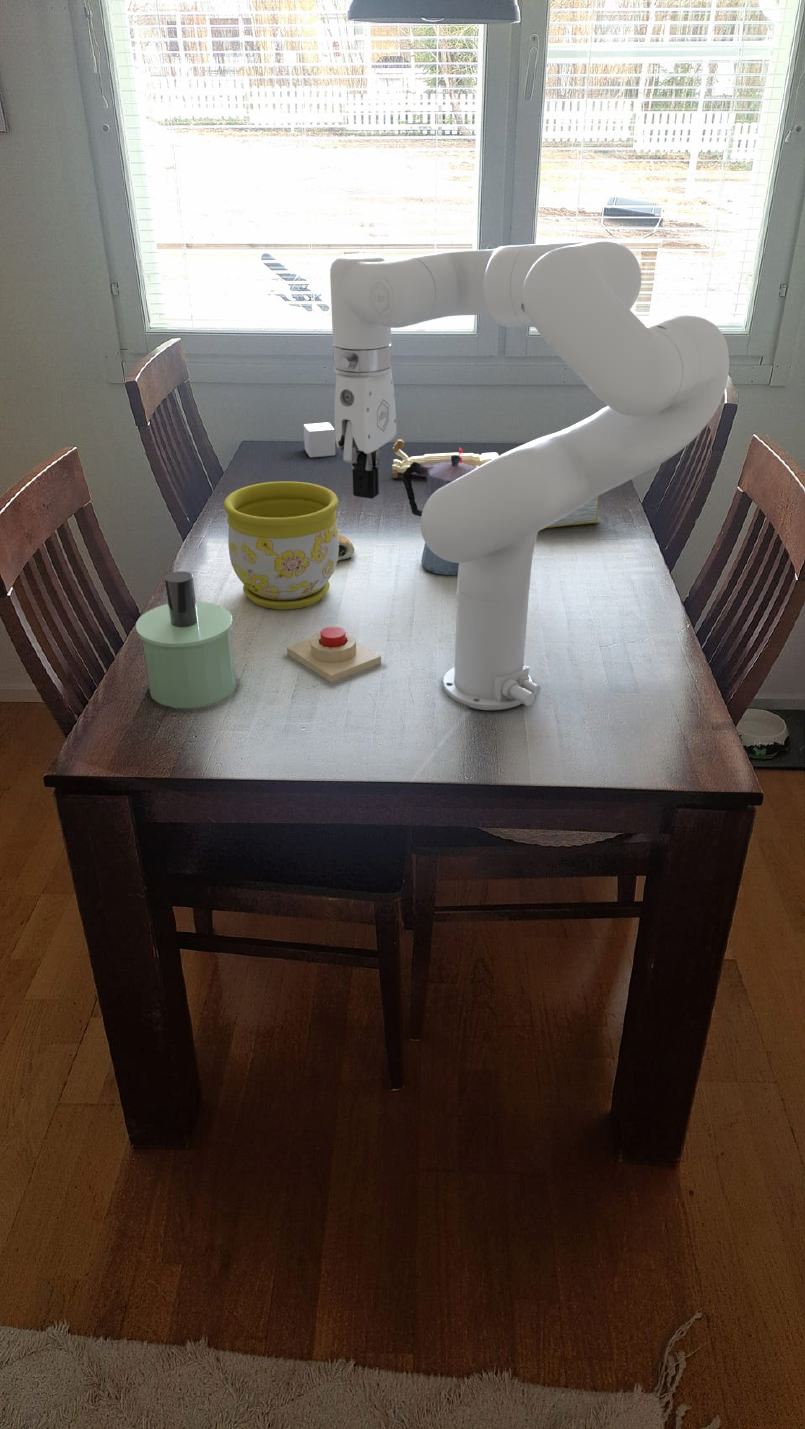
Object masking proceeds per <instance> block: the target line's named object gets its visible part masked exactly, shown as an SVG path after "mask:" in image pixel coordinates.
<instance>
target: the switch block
mask: <svg viewBox="0 0 805 1429" xmlns="http://www.w3.org/2000/svg"><path fill="white" fill-rule="evenodd" d="M345 637H346V643H345V645H343V646H340V647H333V648H330V647H324V646H322V645H321V636H320V632H319V633H316V634H314V636H313V637H311V638H309V639H307V640H304V641H301V642H298V643H295V644H292V645H289V646H287V647H286V653H287V655H288V656H289V657H291V658H292V659H294V660H295V661H297V662H299V663H300V664H301V665H303V666H304V667H306V668H308V669H309V670H311V671H312V672H314V673H316V674H317V675H319V676H320V677H322V678H324V679H325V680H326V681H328V682H329V683H334V682H336V681H339V680H342V679H345V678H347V677H350V676H353V675H355V674H357V673H360V672H362V671H366V670H368V669H371V668H372V667H376V666H379V665H380V664H382V656H381V655H379V654H378V653H377V652H374V651H373V650H372V649H369V648H368V647H366V646H364V645H362V644H361V643H359V642H357V640H356V637H355V636H354V635H353V634H351V633H350V632H347V631H345Z"/></svg>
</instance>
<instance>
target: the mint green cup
mask: <svg viewBox="0 0 805 1429" xmlns="http://www.w3.org/2000/svg"><path fill="white" fill-rule="evenodd" d="M140 639H141V638H140ZM141 645H142V654H143V659H144V665H145V666H144V667H145V673H146V679H147V686H148V691H149V694H150V695H149V696H150V697H151V699H152V700H154V701H155V702H157V703H159V704H160V705H162V706H167V707H170V708H173V709H174V708H175V709H196V708H201V707H207V706H210V705H214V704H216V703H218V702H221V701H223V700H225V699H226V698H227V697H229V696H230V695H231V694H232V693H233V692H234V691H235V688H236V685H237V676H236V665H235V656H234V646H233V645H234V644H233V635H232V628H231V629H230V630H229V631H228V632H227V633H226V634H225V635H223V636H222V637H220V638H218V639H216V640H213V641H211V642H208V643H205V644H201V645H196V646H189V647H163V646H158V645H154V644H150V643H148V642H146V641H144V640H142V639H141Z"/></svg>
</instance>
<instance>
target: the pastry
mask: <svg viewBox="0 0 805 1429" xmlns="http://www.w3.org/2000/svg"><path fill="white" fill-rule="evenodd" d="M338 538H339V555H338V561H341V560H348V559H350V558H351V557H352V556H353V555H354V554H355V548H354V545H353V543H352V542H351V541H350V540H349V538H347V537H346V535H343V534H338ZM338 561H337V562H338Z"/></svg>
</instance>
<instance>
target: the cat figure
mask: <svg viewBox="0 0 805 1429" xmlns="http://www.w3.org/2000/svg"><path fill="white" fill-rule="evenodd" d="M404 447H405V441H404V440H403V439H397V441H396V442H395V443H394V444H393V447H392V452H393V453H394V454H396V456H397V457H400V458H401V459H402V460H399V459H398V458H396V459H393V464H392V465H391V468H392V472H391V473H392V478H393V479H398V477H399V475H398V473H402V474H403V473H404V472H405V471H406V469H407V468H408V467H410V465H411V464H413V462H417V463H419V464H422V465H423V464H428V465H431V466H433V465H436V464H438V463H452V462H451V456H452V455H458V456H460V460H459V463H464V464H467V465H471V466H474V467H477V468H478V467H480V466H482V465H483V464H485V463H487V462H489V461H491V460H492V459H494V458H496V457H498V456H499V453H498V452H483V453H481V454H479V453H474V452H469V453H468V452H466V453H465V452H463V448H462V447H458V451H459V452H443V453H426V454H424V455H416V456H415V455H414V456H410V457H409V455H407V454H406V453H405V452H404V451H403V450H401V449H403V448H404ZM413 474H414V475H415V474H416V473H415V472H414V473H412V474H411V475H413Z"/></svg>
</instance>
